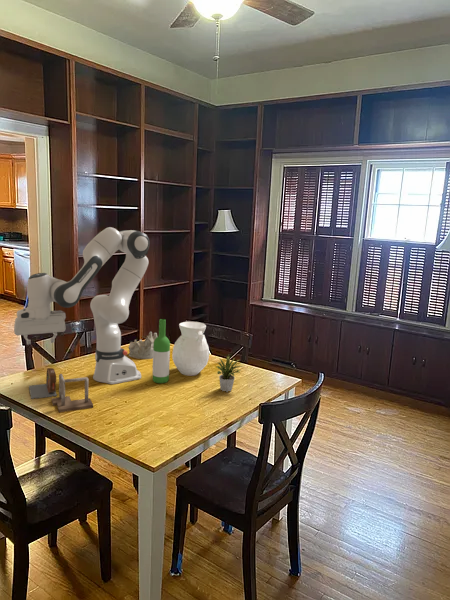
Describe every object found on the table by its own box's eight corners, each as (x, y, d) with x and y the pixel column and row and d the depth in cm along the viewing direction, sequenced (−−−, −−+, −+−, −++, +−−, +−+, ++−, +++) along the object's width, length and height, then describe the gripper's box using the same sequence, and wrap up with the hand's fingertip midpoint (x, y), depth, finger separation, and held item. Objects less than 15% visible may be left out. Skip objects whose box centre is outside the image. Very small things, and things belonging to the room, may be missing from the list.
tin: (45, 383, 202) (45, 365, 200) (53, 382, 203) (53, 364, 202) (49, 396, 189) (48, 377, 187) (57, 395, 190) (56, 376, 188)
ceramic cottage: (164, 352, 258) (163, 327, 255) (149, 361, 243) (148, 334, 240) (140, 350, 263) (139, 325, 260) (125, 358, 248) (123, 332, 245)
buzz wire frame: (87, 396, 192) (87, 369, 190) (93, 407, 182) (93, 379, 179) (51, 400, 186) (51, 373, 183) (55, 412, 175) (54, 383, 173)
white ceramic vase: (215, 375, 226) (217, 327, 222) (183, 381, 216) (185, 330, 211) (196, 364, 241) (198, 318, 237) (165, 369, 231) (167, 321, 226)
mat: (53, 384, 203) (53, 383, 203) (56, 396, 191) (56, 394, 191) (28, 386, 198) (28, 385, 198) (31, 399, 186) (31, 397, 186)
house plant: (225, 399, 197) (228, 364, 194) (203, 390, 206) (205, 356, 203) (246, 391, 208) (249, 357, 204) (224, 382, 217) (226, 350, 214)
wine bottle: (171, 380, 216) (174, 319, 211) (163, 385, 209) (165, 322, 204) (158, 376, 219) (159, 317, 214) (149, 381, 212) (150, 320, 207)
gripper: (64, 308, 197) (65, 338, 200) (12, 311, 188) (14, 343, 191) (66, 311, 192) (67, 342, 195) (13, 315, 182) (15, 347, 185)
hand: (40, 343), depth 193 cm, fingers open, 8 cm apart
